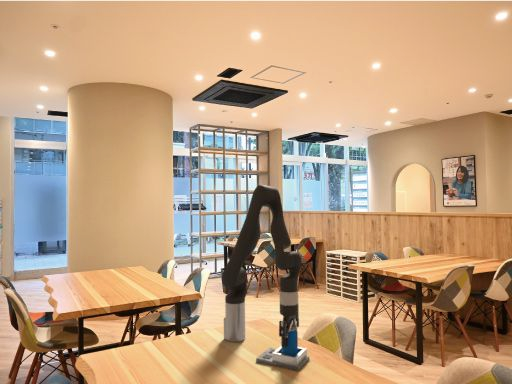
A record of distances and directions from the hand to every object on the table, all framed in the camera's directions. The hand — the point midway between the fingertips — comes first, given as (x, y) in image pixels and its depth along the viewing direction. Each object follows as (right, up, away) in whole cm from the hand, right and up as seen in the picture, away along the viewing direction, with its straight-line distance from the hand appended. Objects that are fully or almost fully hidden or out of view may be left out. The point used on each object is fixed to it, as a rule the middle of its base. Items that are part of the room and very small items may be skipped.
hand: (289, 342), depth 149 cm
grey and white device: (-3, -8, +1) cm, 8 cm away
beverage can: (0, -6, 0) cm, 6 cm away
